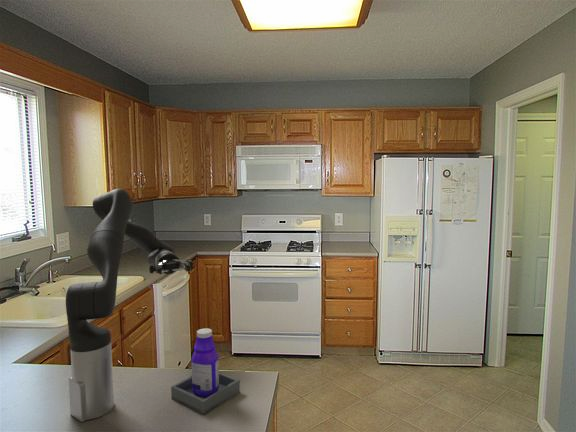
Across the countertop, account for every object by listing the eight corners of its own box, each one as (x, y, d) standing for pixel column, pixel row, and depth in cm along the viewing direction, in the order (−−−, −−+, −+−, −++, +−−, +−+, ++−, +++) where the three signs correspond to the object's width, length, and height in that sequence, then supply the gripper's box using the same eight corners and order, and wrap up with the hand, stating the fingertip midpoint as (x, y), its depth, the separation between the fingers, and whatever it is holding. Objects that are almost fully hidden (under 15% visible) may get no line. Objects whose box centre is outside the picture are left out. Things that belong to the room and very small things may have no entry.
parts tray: (203, 415, 92) (203, 401, 92) (171, 399, 100) (171, 386, 99) (239, 392, 103) (239, 380, 102) (208, 379, 110) (207, 367, 110)
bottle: (222, 388, 103) (220, 327, 102) (213, 399, 98) (211, 335, 96) (199, 385, 105) (197, 325, 104) (188, 396, 99) (186, 333, 98)
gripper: (145, 253, 131) (150, 260, 116) (186, 250, 137) (196, 256, 122) (146, 274, 131) (151, 283, 117) (187, 270, 137) (196, 278, 123)
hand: (174, 269), depth 120 cm, fingers open, 8 cm apart
